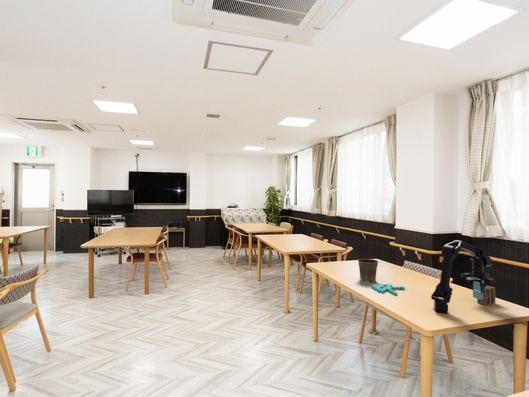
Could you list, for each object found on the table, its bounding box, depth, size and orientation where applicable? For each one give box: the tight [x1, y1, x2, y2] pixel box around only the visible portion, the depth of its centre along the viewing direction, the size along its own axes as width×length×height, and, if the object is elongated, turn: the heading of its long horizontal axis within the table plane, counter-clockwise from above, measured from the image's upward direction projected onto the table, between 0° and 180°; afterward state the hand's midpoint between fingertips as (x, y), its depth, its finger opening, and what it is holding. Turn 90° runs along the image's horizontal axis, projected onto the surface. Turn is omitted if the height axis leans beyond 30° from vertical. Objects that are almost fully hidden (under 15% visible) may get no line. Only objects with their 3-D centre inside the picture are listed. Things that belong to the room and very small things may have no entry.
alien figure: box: [371, 283, 406, 296], centre depth 233 cm, size 20×2×20 cm
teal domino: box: [472, 281, 483, 300], centre depth 200 cm, size 2×5×10 cm, turn 22°
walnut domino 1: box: [476, 289, 488, 306], centre depth 202 cm, size 2×5×10 cm, turn 21°
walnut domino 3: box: [486, 285, 496, 305], centre depth 205 cm, size 2×5×10 cm, turn 21°
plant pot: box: [357, 258, 379, 282], centre depth 260 cm, size 16×16×16 cm
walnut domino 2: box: [485, 287, 492, 305], centre depth 203 cm, size 2×5×10 cm, turn 21°
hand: (477, 291), depth 200 cm, fingers closed on teal domino, 5 cm apart
